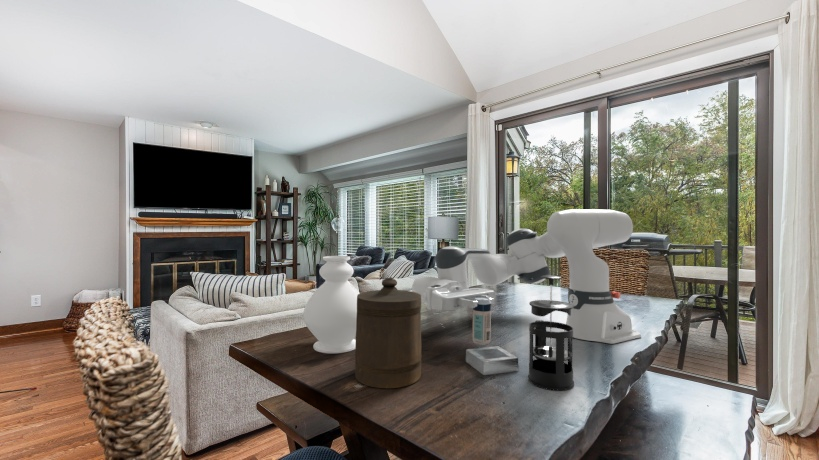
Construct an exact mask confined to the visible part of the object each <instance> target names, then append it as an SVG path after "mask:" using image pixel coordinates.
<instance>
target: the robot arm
mask: <svg viewBox="0 0 819 460" xmlns="http://www.w3.org/2000/svg"><path fill="white" fill-rule="evenodd" d="M547 220H548V221H547V224H546V231H545V233H543V234H542V235H537V234H538V232H537V231H533V230H531V229H528V228H517V229H515V230H512V231H511V232H509V234H508V235H507V236H506V237H505V243H506V246H507V247H508V250H509V252H510V254H509V253H508V254H507V253H496V254H495V253H494V254H491V252H490V251H489V250H488V249H486V248H485V249H484V248H471V247H468V248H467V247H459V246H453V245H451V246H444V247H441V248H440V249H439V250H438V252H437V253H436V254H435V256H434V258H435V259H434V260H435V265H436V268H437V269H436V270H437V277H433V276H418V277H416V278H415V279H414V281H412V282H413V283H412V287H411V291H412V292H416V293H418V294H420V295H421V304H425V305H426V309H427V310H429V311H441V312H443V311H444V312H445V311H449V312H455V311H457V310H459V309H463V308H471V309H473V308H476V307H478V305H477V304H478V302H477V301H475V300H474V299H475V298H477V297H484V298H489V299H490V301H491V306H492V305H494V304H495V301H496V300H495V299H496V292H495V291H494V289H487V288H482V287H481V288H480V287H472V288H471V287H469V279H468V269H467V268H468V267H467V263H468V260H469V261H470V262H471V266H472V271H473V274H474V277H475V278H476V279H477V280H478V282H480V283H481V284H482V285H484V286H488V287H491V286H497V285H500V284H502V283H504V282H506V281H507V280H509V279H510V278H511V277H513V276H517V277H518V278H517V280H518V281H519V280H521V281H522V282H524V283H525V284H530V285H531V284H539V283H542V282H544V281H545V280H546V279H544V278H541V277H542V276H546V275H551V272H550V271H551V270H550V267H549V265H548V263H547V261H546V258H550V259H557V258H563V257H566V259H567V263H568V273H569V274H568V275H569V287H568V288H567V289H568V290H567V300H568V302H567V303H570V304H572V305H573V306H574V307H573V308H572V309H571V316H569V315H568V314H567V313H566V314H567V316H566V320H565V324H567V325H569V326H571V327H573V336H572V338H573V339H574V338H575V339H578V340H582V341H590V342H591V341H592V342H598V343H599V342H600V343H604V344H605V343H606V344H610V345H611V344H612V345H613V344H618V343H622V342H626V341H631V340H634V339H639V338H641V337H642V334H641V332H638V331H637V330H635V329H633V324H632V322H633V321H632V319H631V316H630V315H629V314H628V313H627V312H626V311H624V310H623V309H622V308H621V307H620V306H618V305H617V304H616V303H614V298H615V299H618V300H619V299H620V298H621V296H622V295H621V294H620V292H619V291H614V290H613V291H611V290H610V268H609V264H608V263H607V261H605V260H604V259H601V258H600V257H599V256H596V254H595V253H594V250H593V249H597V248H601V247H603V248H604V247H607V246H611V245H617V244H622V243H625V242H627V241H628V240H629V239H630V238H631V236H632V234H633V231H634V225H633V221H632V218H631V217H630V216H629V214H627V213H625V212H621V211H618V210H613V209H587V208H586V209H582V208H581V209H576V208H574V209H570V208H569V209H564V210H559V211H556V212H555V211H554V212H553V213H552V214H551V215H550V216H549V218H548V219H547ZM563 332H567V331H566V330H563Z"/></svg>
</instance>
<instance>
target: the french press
mask: <svg viewBox="0 0 819 460" xmlns="http://www.w3.org/2000/svg"><path fill="white" fill-rule="evenodd" d="M541 278H544V279H545V280H548V285H549V286H550V287H549V288H550V290H549V291H550V292H549V294H550V296H549V297H550V299H539V300H538V299H537V300H536V299H535V300H532V301H529V305H530V306H531V311H530V312H531V314H532V315H534V316H537V317H546V316H548V315H549V321H548V320H547V321H546V320H545V321H544V320H542V319H541V320H537V319H536V320H535V321H533V322H530V323H529V324H528V331H529V339H528V340H529V344H528V345H529V351H528V352H529V353H528V354H529V358H528V360H529V361H528V375H527V380H528V382H529V383H530V384H531V385H533V386H535V387H537V388H540V389H544V390H547V391H555V392H557V391H558V392H561V391H562V392H564V391H569V390H572V389H573V388H574V387H575V381H574V368H573V337H572V336H573V327H571V326H569V325H567V324H566V323H561V322H557V321H552V320H553V312H561V313H565V314H568V315H569V316H571V309H572V308H573V307H574V306H573V305H572V304H570V303H569V302H565V301H560V300H553V286H554V280H561V279H562V277H561V276H558V275H551V274H550V275H546V276H542V277H541ZM547 328H549V331H548V330H547ZM553 329H559V330H563V331H552V330H553ZM564 330H566V331H567V332H564ZM547 339H549V345H547ZM553 339H555V346H553V343H552V340H553ZM565 339H567V349H566V348H565ZM534 358H535V359H534ZM566 361H567V363H566Z"/></svg>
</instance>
